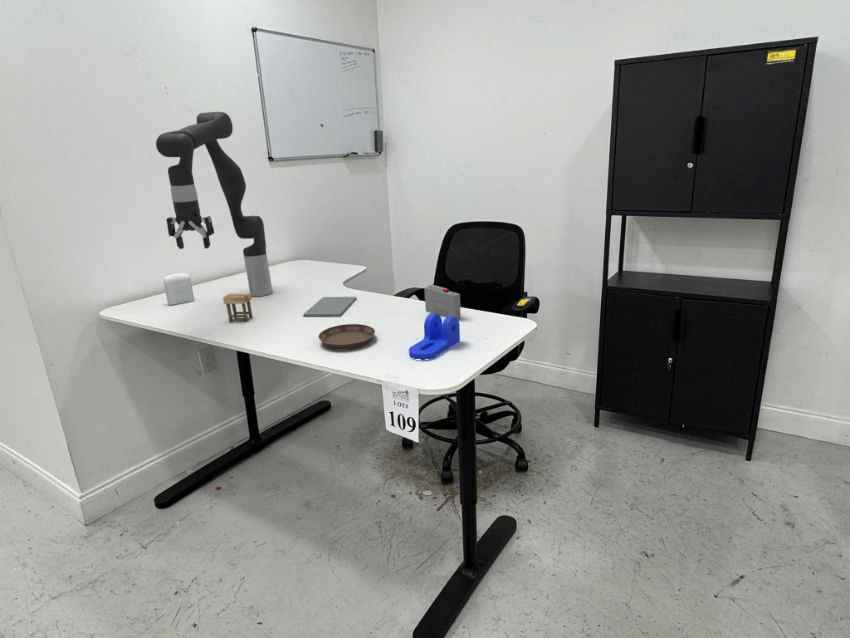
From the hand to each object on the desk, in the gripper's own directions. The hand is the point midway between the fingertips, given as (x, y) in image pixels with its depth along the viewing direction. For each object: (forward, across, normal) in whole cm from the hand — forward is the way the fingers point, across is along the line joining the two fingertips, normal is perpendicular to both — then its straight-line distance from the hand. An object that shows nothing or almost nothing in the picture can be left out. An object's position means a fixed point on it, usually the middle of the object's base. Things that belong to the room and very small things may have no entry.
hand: (194, 248), depth 175 cm
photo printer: (+32, +26, -35) cm, 54 cm away
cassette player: (+26, -83, -4) cm, 87 cm away
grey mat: (+28, -40, -18) cm, 52 cm away
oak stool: (+29, -8, -8) cm, 31 cm away
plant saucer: (+27, -53, +18) cm, 62 cm away
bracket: (+25, -80, +28) cm, 88 cm away
